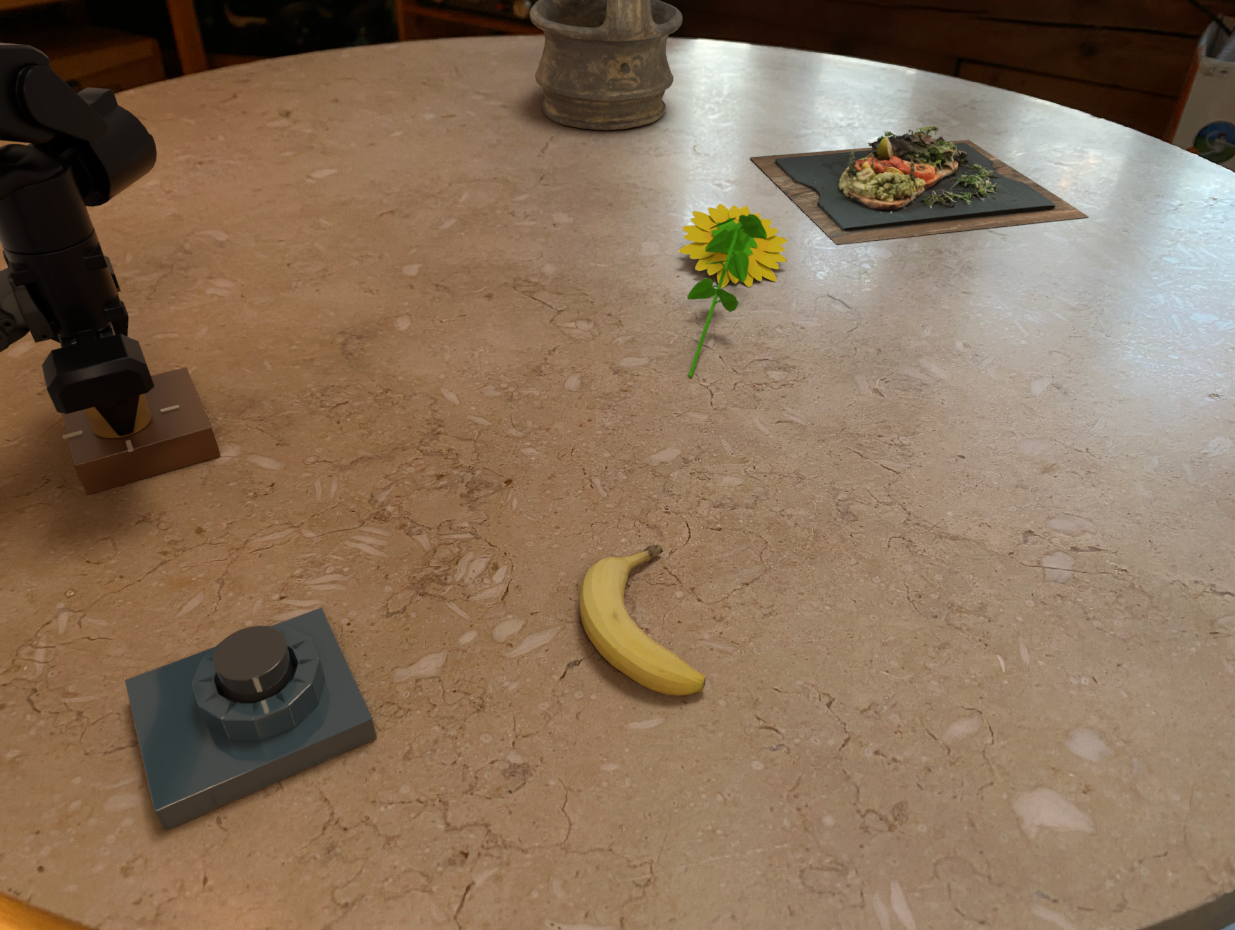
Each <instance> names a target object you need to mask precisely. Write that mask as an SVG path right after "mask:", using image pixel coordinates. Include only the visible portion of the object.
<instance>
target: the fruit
mask: <svg viewBox="0 0 1235 930" xmlns="http://www.w3.org/2000/svg"><path fill="white" fill-rule="evenodd" d="M662 553H664V550H663V548H662V546H661V544H652V545H649V546H647V547H646V548H644V549H643V550H641V551H639V552H637V553H635V554H631V555H628V556H621V557H613V556H609V557H607V556H606V557H605V558H602V559H600V560H599V561H597V562H595V563H594V564H593V565H592V566H590V568H588V569H587V571H586V574H585V576H584V578H583V579H582V582H581V587H580V590H579V615H580V620H581V623H582V626H583V629H584V632H585V633H586V635H587V637H588V639H589V641H590V642H591V643H592V645H593V646H594V648H595V649H596V650H597V651H598V653H599V654H600V655H601V656H602V657H603V658H604V659H605V660H606V661H607V662H608V663H609V664H610V665H611V666H612V667H614V668H616V669H617V670H619V671H620V672H621V673H622V674H624V675H625V676H627V677H628V678H630V679H631V680H633V681H634V682H636V683H637V684H639V685H640V686H642V687H644V688H647V689H649V690H650V691H652V692H656V693H659V694H663V695H668V696H686V695H691V694H696V693H702V692H703V691H704V689H705V687H706V682H707V676H706V675H705V674H703V673H701V672H699V671H698V670H696V669H694V668H693V667H691V665H689V664H688V663H687V662H686V661H684V660H683V658H680V657H679V656H677V655H676V654H675V653H673V652H672V651H670V650H668V649H667V648H665V647H664V646H663V645H661V644H659V643H658V642H656V641H655V640H653V639H652V637H650V636H649V635H648V634H646V633H645V632H644V631H643V630H642V629H641V628H640V627H639V626H638V625H637V624H636V623H635V622H634V620H633V619H632V618H631V616H630V615H629V612H628V611H627V607H626V605H625V591H626V586H627V582H628V578H629V574H630V572H631V571H632V569H633V568H635V567H638V566H639V565H641V564H644V563H647V562H649V561H650V560H651V559H653V558H655V557H657V556H659V555H660V554H662Z"/></svg>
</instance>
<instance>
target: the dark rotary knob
mask: <svg viewBox="0 0 1235 930" xmlns="http://www.w3.org/2000/svg"><path fill="white" fill-rule="evenodd" d="M267 626H268V625H253V626H248V627H244V628H241V629H239V630H236V631H234V632H233V633H230V634H229V635H228V636H226V637H225V638H223V640H221V641H220V642H221V643H220V642H219V643H220V645H219V646H218V648H217V649H216V651H215V654H214V658H213V664H214V668H215V670H216V673H217V675H218V678H219V681H220V683H221V686H222V688H223V691H224V692H225V694H226V695H227V696H228V697H230V698H231V699H233V700H236V701H239V702H247V703H249V702H258V701H262V700H264V699H267V698H269V697H271V696H273V695H275V694H276V693H278V692H279V691H280V690H282V689H283V688H284V687H285V686H286V684H287V683H288V682H289V680H290V678H291V676H292V672H293V663H292V660H291V657H290V653H289V650H288V647H287V643H286V640H285V638H284V636H283V635H282V634H281V633H280V632H279V631H277V630H276V629H274V628H271V627H267Z"/></svg>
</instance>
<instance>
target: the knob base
mask: <svg viewBox="0 0 1235 930" xmlns="http://www.w3.org/2000/svg"><path fill="white" fill-rule="evenodd" d="M266 626H267V627H271V628H274V629H276V630H277V631H279V632H280V633H281V634H282V635H283V636H284V638H285V640H286V643H287V647H288V650H289V653H290V657H291V660H292V663H293V672H292V676H291V678H290V680H289V682H288V683H287V684H286V686H285V687H284V688H283V689H282V690H280V691H279V692H278V693H276V694H275V695H273V696H271V697H269V698H267V699H264V700H262V701H258V702H249V703H247V702H239V701H236V700H233V699H231V698H230V697H228V696H227V695H226V694H225V692H224V691H223V688H222V686H221V683H220V681H219V678H218V675H217V673H216V670H215V668H214V664H213V658H214V654H215V651H216V649H217V648H218V646H219V645H220V643H221V642H222V641H220V642H219V643H217V645H216V646H213V647H210V648H208V649H205V650H202V651H199V652H197V653H195V654H192V655H189V656H186V657H183V658H181V659H178V660H175V661H173V662H170V663H167V664H164V665H161V666H159V667H156V668H154V669H153V668H152V669H151V670H148V671H146V672H142V673H140V674H138V675H135V676H132V677H129V678H126V679H125V680H124V684H125V688H126V693H127V697H128V701H129V706H130V711H131V715H132V720H133V725H134V728H135V732H136V737H137V743H138V746H139V750H140V755H141V759H142V764H143V768H144V772H145V777H146V781H147V786H148V791H149V795H150V798H151V803H152V808H153V812H154V814H155V816H156V818H157V819H158V821H159V824H160V825H161V828H162V829H163V831H169V830H172V829H173V828H175V827H178V826H180V825H182V824H184V823H187V822H190V821H192V820H194V819H196V818H198V817H200V816H202V815H205V814H207V813H209V812H213V811H215V810H216V809H219V808H220V807H224V806H225V805H228V804H230V803H232V802H235V801H237V800H239V799H242V798H244V797H246V796H249V795H250V794H253V793H255V792H258V791H260V790H263V789H264V788H267V787H269V786H271V785H274V784H276V783H279V782H281V781H283V780H286V779H287V778H289V777H292V776H294V775H296V774H299V773H301V772H303V771H305V770H308V769H310V768H313V767H314V766H317V765H320V764H322V763H324V762H326V761H328V760H331V759H333V758H335V757H337V756H338V757H339V756H340V755H343V754H344V753H347V752H349V751H351V750H354V749H356V748H358V747H361V746H363V745H365V744H367V743H369V742H372V741H374V740H376V739H377V738H378V736H377V731H376V727H375V723H374V718H373V715H372V714H371V712H370V710H369V707H368V705H367V703H366V701H365V698H364V697H363V694H362V692H361V690H360V688H359V686H358V684H357V681H356V679H355V676H354V675H353V673H352V671H351V668H350V666H349V664H348V662H347V659H346V657H345V654H344V653H343V651H342V648H341V646H340V644H339V642H338V640H337V638H336V635H335V633H334V631H333V629H332V627H331V624H330V622H329V621H328V618H327V616H326V613H325V612H324V609H323V608H322V607H318V608H316V609H313V610H310V611H307V612H305V613H302V614H300V615H296V616H295V617H291V618H288V619H286V620H283V621H281V622H278V623H275V624H273V625H266Z"/></svg>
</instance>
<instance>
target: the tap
mask: <svg viewBox="0 0 1235 930" xmlns="http://www.w3.org/2000/svg"><path fill="white" fill-rule="evenodd" d="M84 411H85V414H86V416H87V418H88V421H89V423H90V426H91V428H92V431H93V432H94V433H95V434H96V435H98V436H100V437H104V438H120V437H125V436H129V435H132V434H134V433H136V432H139V431H140V430H142V429H143V428H145V427H146V426H147V425H148V424H149V422H150V421H151V418H152V414H151V411H150V408H149V405H148V402H147V399H146V397H145V394H141V395H140V398H139V403H138V409H137V415H136V421H135V427H134V432H133V433H131V434H128V435H124V436H118V435H117V434H116V432H115V431H114V430H113V429H112V428H111V426H110V425H109V424H108V423H107V422H106V420H105V419H104V418H103V417H102V416H101V414H100V413H99V412H98V411H97V410H96V408H95V407H92V408H88V409H84Z"/></svg>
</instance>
